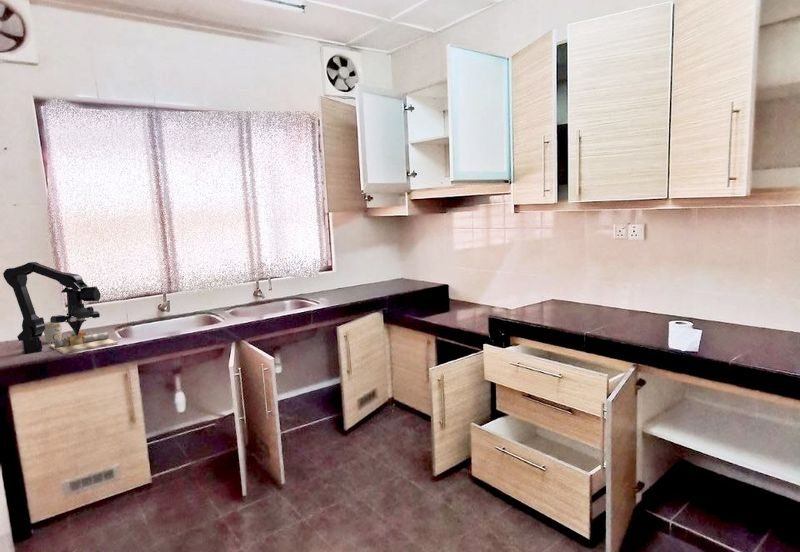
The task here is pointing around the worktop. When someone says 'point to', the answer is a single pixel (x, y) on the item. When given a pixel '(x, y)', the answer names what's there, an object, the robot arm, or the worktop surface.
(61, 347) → the valve board
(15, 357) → the worktop surface
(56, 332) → the mug
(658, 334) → the worktop surface
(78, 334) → the valve lever
